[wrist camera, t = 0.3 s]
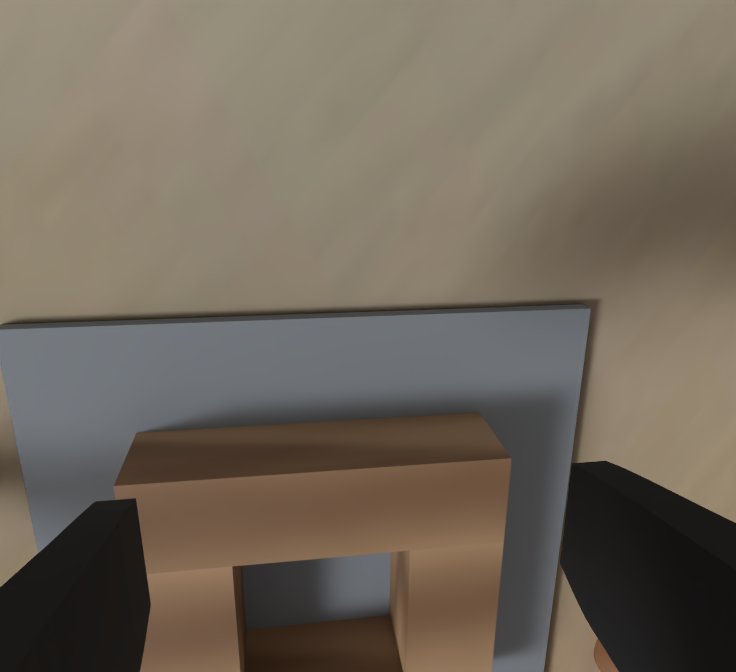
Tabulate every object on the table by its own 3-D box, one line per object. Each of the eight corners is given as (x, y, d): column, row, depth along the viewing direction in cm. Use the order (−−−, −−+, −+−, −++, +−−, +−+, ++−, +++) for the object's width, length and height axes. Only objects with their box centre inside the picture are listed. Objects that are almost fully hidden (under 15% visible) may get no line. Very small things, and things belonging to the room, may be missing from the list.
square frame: (460, 666, 24) (485, 737, 22) (170, 700, 23) (156, 781, 20) (479, 412, 21) (511, 458, 18) (136, 432, 19) (113, 486, 16)
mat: (532, 710, 27) (537, 721, 26) (87, 768, 24) (83, 781, 24) (583, 304, 21) (591, 308, 20) (1, 324, 18) (-7, 330, 18)
